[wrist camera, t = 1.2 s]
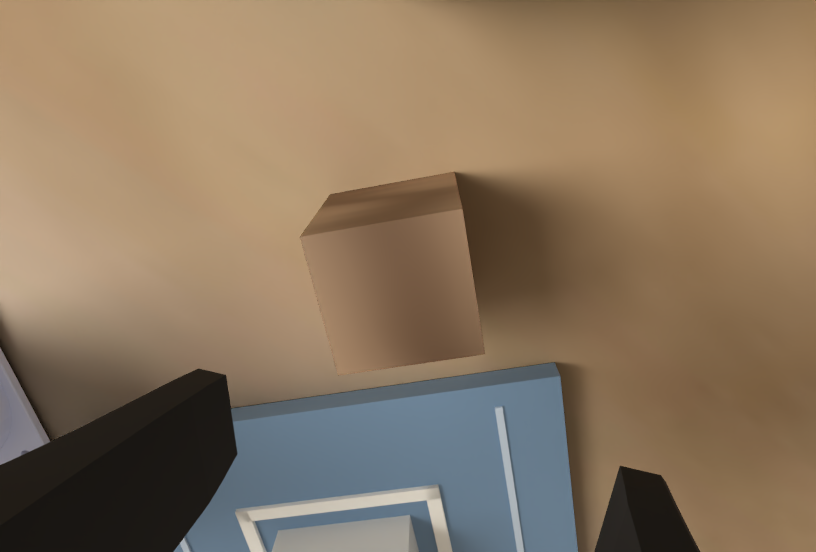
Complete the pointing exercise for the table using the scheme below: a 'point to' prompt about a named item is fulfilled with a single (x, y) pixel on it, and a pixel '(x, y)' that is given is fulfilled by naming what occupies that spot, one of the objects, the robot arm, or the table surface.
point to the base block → (351, 537)
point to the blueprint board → (404, 466)
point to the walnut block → (394, 275)
